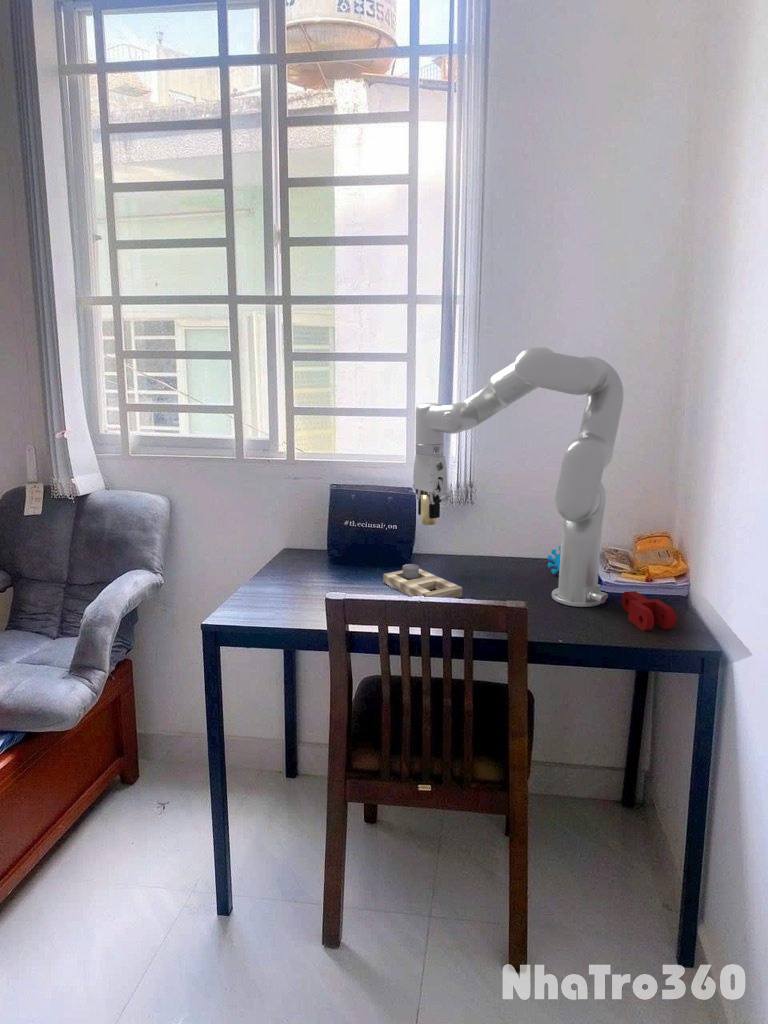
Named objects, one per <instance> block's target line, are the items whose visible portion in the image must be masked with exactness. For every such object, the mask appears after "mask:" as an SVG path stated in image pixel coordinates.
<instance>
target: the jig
mask: <svg viewBox="0 0 768 1024" xmlns="http://www.w3.org/2000/svg"><path fill="white" fill-rule="evenodd" d="M382 576H383V577H382V582H383V584H384V583H385V585H386V584H387V585H386V586H388V585H389V586H388V587H390V586H391V588H392V587H393V589H394V588H396V589H397V590H396V589H395V590H396V591H398V590H399V591H398V592H400V591H401V593H402V592H403V594H404V593H406V594H408V595H409V596H408V595H407V596H408V597H410V596H424V597H458V598H462V597H463V587H462V586H460V585H458V584H456V583H453V582H451V581H448V580H447V579H444V578H441V577H439V576H437V575H436V574H435V575H434V574H433V573H430V572H428V571H426V570H425V569H424V570H423V569H422V568H420V566H419V565H417V564H414V563H408V564H407V563H406V564H404V565H402V569H401V570H396V571H392V572H386V573H383V574H382ZM433 589H437V590H433ZM429 590H432V591H429ZM406 594H405V595H406ZM458 598H457V599H458Z"/></svg>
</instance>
